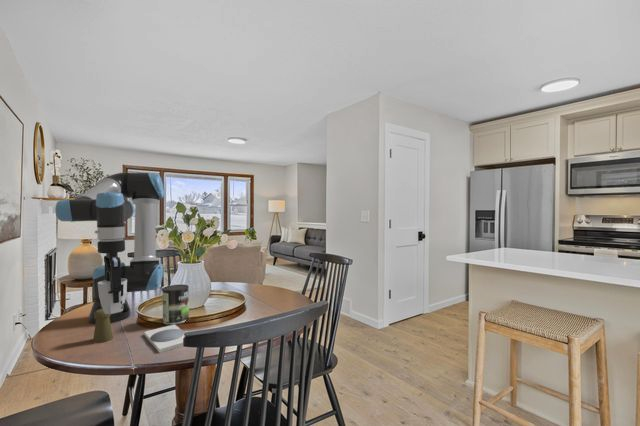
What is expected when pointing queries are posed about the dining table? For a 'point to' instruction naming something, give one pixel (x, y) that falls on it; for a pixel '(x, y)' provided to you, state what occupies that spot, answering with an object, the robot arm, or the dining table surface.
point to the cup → (105, 297)
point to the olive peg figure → (102, 327)
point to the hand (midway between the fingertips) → (113, 309)
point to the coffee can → (175, 304)
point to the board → (165, 338)
